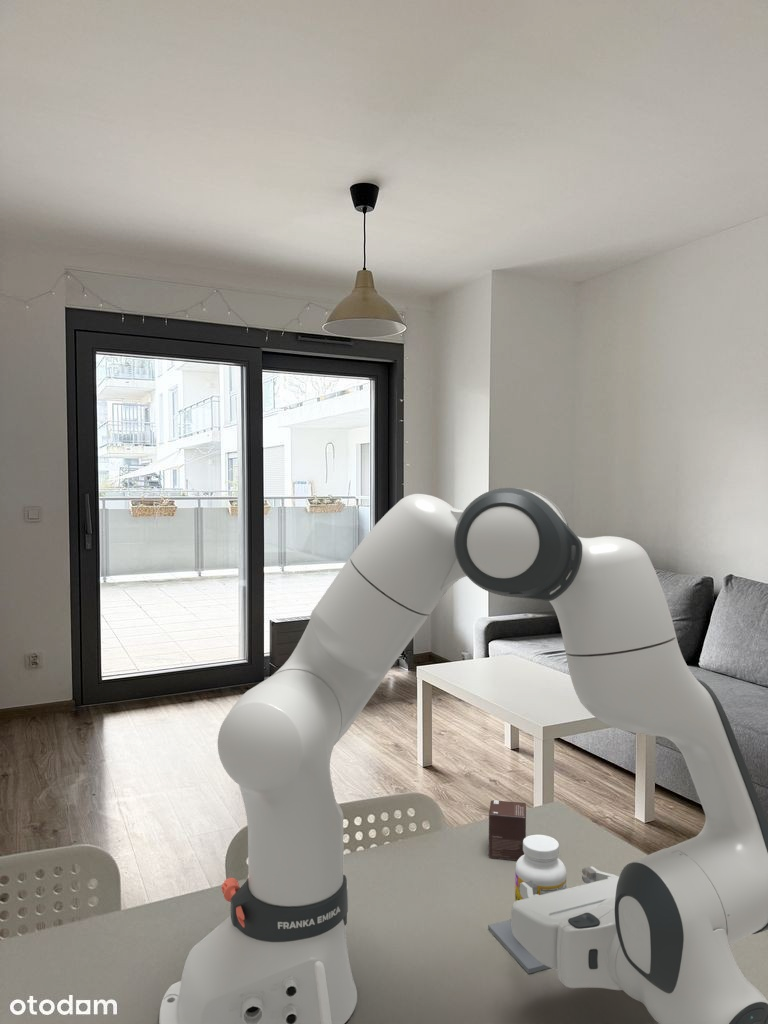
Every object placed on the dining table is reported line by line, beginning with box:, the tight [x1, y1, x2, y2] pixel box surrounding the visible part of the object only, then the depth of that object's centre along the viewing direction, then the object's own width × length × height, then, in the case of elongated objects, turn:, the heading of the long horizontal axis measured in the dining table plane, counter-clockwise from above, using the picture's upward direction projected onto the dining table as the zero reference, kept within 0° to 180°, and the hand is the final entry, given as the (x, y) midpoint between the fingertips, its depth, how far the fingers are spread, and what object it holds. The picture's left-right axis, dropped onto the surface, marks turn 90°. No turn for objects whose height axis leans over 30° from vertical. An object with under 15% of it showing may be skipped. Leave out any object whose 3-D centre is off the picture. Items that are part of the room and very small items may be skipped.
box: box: [488, 799, 527, 861], centre depth 121 cm, size 6×6×7 cm
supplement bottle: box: [514, 834, 567, 902], centre depth 96 cm, size 7×7×13 cm
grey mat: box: [487, 918, 551, 975], centre depth 97 cm, size 10×10×1 cm
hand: (556, 879), depth 93 cm, fingers open, 8 cm apart
